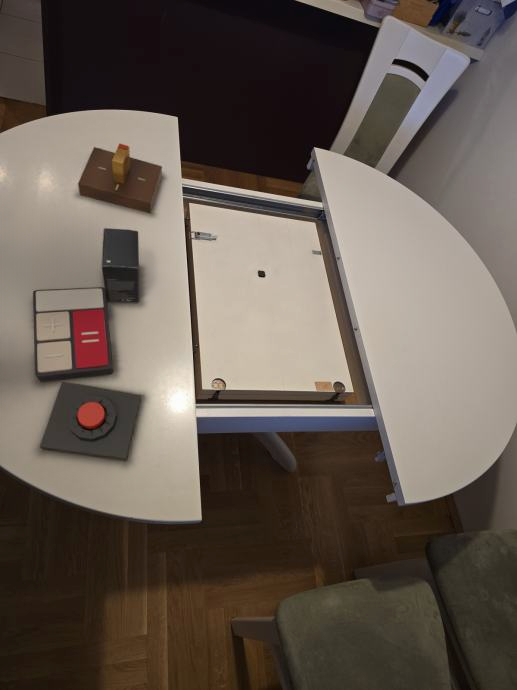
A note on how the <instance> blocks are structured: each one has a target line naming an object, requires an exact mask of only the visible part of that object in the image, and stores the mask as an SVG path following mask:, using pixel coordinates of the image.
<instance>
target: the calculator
mask: <svg viewBox="0 0 517 690" xmlns="http://www.w3.org/2000/svg"><path fill="white" fill-rule="evenodd" d="M32 302H33V303H32V306H33V307H32V308H33V344H34V345H33V346H34V351H33V352H34V376H35V377H36V378H37V380H38V381H39V382H40V383H46V382H55V381H63V380H72V379H80V378H90V377H98V376H107V375H112V374H113V373H114V364H113V353H112V345H111V344H112V343H111V332H110V322H109V312H108V311H109V310H108V301H107V298H106V291H105V286H104V287H103V286H96V287H74V288H53V289H52V288H50V289H34V290H33V291H32Z"/></svg>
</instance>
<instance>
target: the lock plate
mask: <svg viewBox="0 0 517 690" xmlns="http://www.w3.org/2000/svg"><path fill="white" fill-rule="evenodd" d="M114 155H115V152H113V151H111V150H108V149H107V150H106V149H103V148H100V147H96V146H94V147H93V148H92V151H91V153H90V155H89V157H88V160H87V162H86V164H85V167H84V169H83V171H82V173H81V176H80V178H79V181H78V182H77V185H78V191H79V195H80V196H82V197H86V198H90V199H93V200H97V201H101V202H105V203H109V204H113V205H117V206H121V207H124V208H129V209H132V210H136V211H140V212H144V213H148V214H151V213H152V210H153V206H154V203H155V200H156V197H157V194H158V191H159V186H160V183H161V181H162V173H163V166H162V165H159V164H156V163H153V162H149V161H145V160H141V159H137V158H135V157H131V156H130V169H129V171H128V174H127V177H126V179H125V182H124V184H122V183H119V182H115V181H114V178H113V166H112V159H113V157H114Z"/></svg>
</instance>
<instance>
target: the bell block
mask: <svg viewBox="0 0 517 690" xmlns="http://www.w3.org/2000/svg"><path fill="white" fill-rule="evenodd" d="M88 402H96V403H99V404H100V405H101V406H102V407H103V409H104V411H105V420H104V422H103V423H102V425H100V426H99V427H97V428H95V429H87V428H85V427H83V426H82V425H81V424H80V422H79V420H78V416H77V414H78V411H79V409H80V407H81V406H82V405H84V404H86V403H88ZM141 403H142V395H141V394H138V393H137V394H135V393H130V392H125V391H119V390H113V389H107V388H102V387H101V388H100V387H95V386H89V385H83V384H77V383H71V382H65V381H61V384H60V387H59V390H58V393H57V395H56V398H55V401H54V403H53V406H52V410H51V413H50V415H49V418H48V421H47V424H46V427H45V430H44V433H43V435H42V439H41V442H40V444H39V448H40V449H41V450H43V451H51V452H57V453H58V452H59V453H65V454H70V455H71V454H72V455H80V456H87V457H92V458H93V457H95V458H102V459H108V460H116V461H123V462H127V461H128V457H129V453H130V448H131V443H132V440H133V435H134V432H135V429H136V428H135V427H136V423H137V420H138V415H139V411H140V407H141Z"/></svg>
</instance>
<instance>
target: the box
mask: <svg viewBox="0 0 517 690" xmlns="http://www.w3.org/2000/svg"><path fill="white" fill-rule="evenodd" d="M139 244H140V243H139V231H138V230H132V229H124V228H107V227H106V228H103V231H102V248H101V271H102V277H103V284H104V288H105V292H106V299H107V303H108V302H110V303H130V304H131V303H133V304H136V303H137V304H138V303H139V302H140V252H139V251H140V249H139V247H140V246H139Z"/></svg>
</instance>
